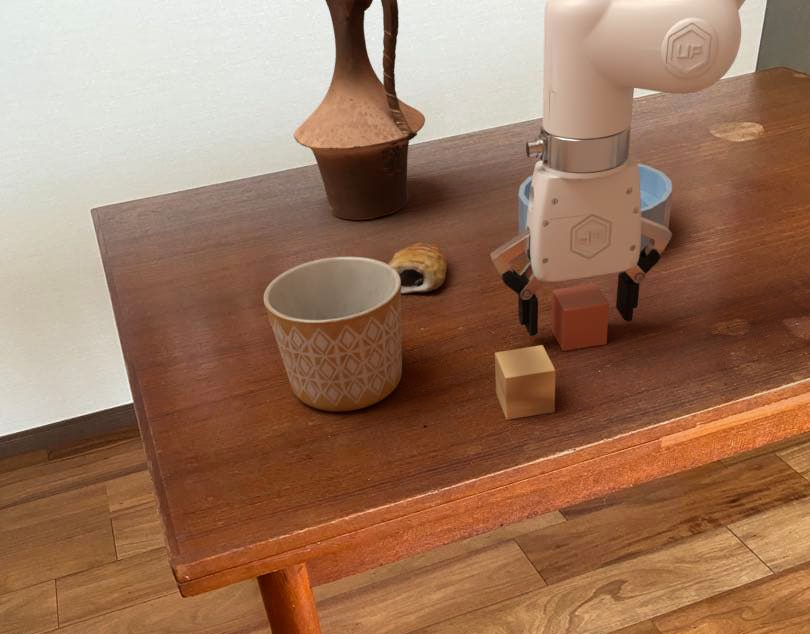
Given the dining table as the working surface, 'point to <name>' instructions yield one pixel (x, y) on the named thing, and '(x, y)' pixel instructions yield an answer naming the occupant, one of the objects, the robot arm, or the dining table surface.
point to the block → (525, 382)
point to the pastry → (420, 267)
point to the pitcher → (362, 121)
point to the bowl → (653, 199)
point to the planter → (338, 330)
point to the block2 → (579, 317)
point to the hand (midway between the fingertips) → (577, 322)
